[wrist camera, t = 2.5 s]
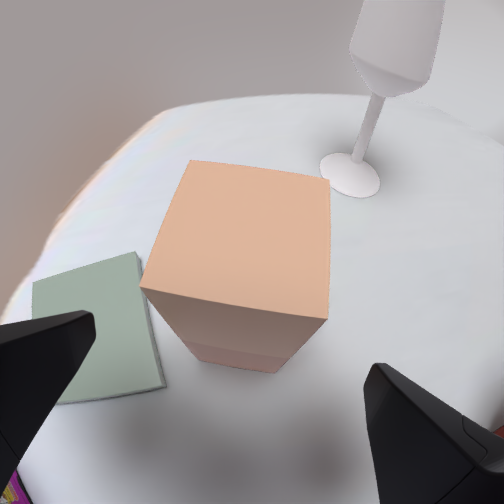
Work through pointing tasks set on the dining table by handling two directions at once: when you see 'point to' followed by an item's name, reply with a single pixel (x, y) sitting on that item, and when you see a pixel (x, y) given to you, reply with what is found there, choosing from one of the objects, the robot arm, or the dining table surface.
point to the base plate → (106, 327)
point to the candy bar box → (15, 492)
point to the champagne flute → (385, 76)
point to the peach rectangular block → (243, 263)
